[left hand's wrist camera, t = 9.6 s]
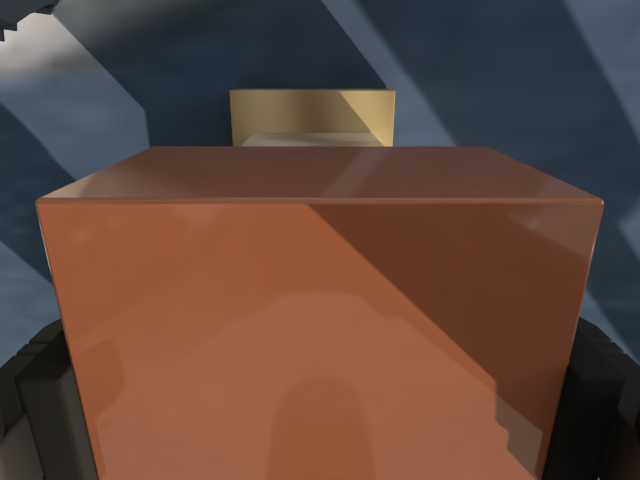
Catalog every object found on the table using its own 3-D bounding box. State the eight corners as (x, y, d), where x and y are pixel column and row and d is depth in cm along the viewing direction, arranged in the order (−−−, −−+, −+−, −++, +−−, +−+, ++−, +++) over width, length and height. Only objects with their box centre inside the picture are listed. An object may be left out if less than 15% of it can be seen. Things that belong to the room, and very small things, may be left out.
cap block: (489, 146, 11) (609, 199, 7) (454, 416, 14) (519, 586, 10) (151, 145, 11) (30, 199, 7) (185, 416, 14) (119, 586, 10)
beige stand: (389, 88, 24) (480, 112, 11) (367, 507, 34) (400, 778, 21) (235, 88, 24) (138, 112, 11) (261, 508, 34) (228, 780, 21)
